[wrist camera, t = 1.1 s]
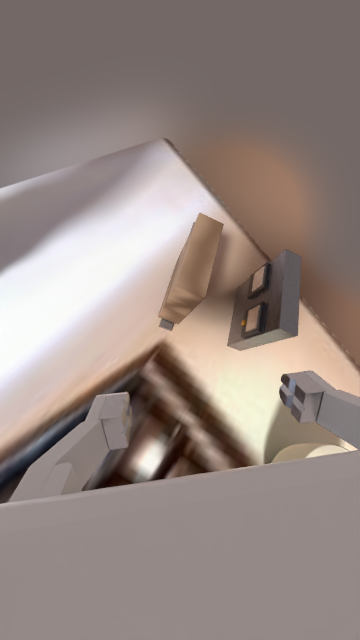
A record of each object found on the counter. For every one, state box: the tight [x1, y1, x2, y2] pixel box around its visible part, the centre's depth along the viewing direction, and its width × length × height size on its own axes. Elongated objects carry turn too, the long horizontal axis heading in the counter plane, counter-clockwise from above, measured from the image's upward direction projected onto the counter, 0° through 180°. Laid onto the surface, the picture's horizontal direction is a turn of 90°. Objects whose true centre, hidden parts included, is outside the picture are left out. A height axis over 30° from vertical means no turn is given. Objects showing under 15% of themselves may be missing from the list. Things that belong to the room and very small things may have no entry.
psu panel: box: [159, 222, 301, 351], centre depth 36 cm, size 17×27×14 cm, turn 164°
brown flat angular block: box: [158, 213, 224, 324], centre depth 33 cm, size 4×13×13 cm, turn 164°
